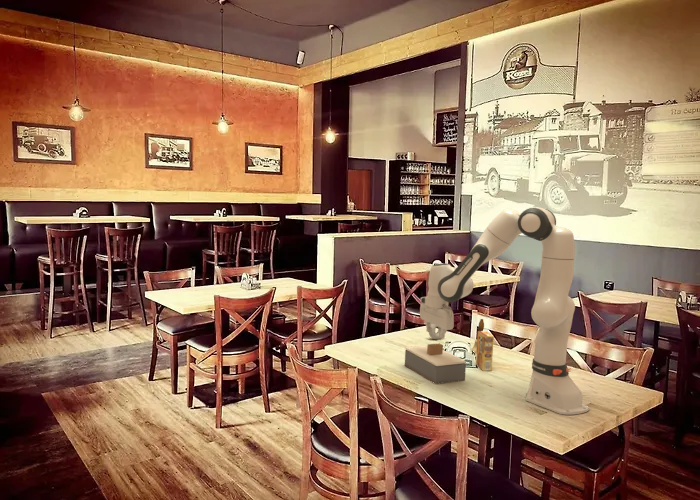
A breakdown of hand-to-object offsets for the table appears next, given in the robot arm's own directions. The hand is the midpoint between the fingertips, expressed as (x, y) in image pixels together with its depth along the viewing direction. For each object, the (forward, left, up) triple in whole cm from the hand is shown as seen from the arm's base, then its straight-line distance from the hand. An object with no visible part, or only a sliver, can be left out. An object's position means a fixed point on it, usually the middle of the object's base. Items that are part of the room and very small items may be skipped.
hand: (435, 334), depth 224 cm
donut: (+45, -31, -16) cm, 57 cm away
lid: (0, 0, -9) cm, 9 cm away
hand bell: (+20, -39, -16) cm, 47 cm away
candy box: (-1, -25, -16) cm, 30 cm away
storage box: (0, 0, -16) cm, 16 cm away
